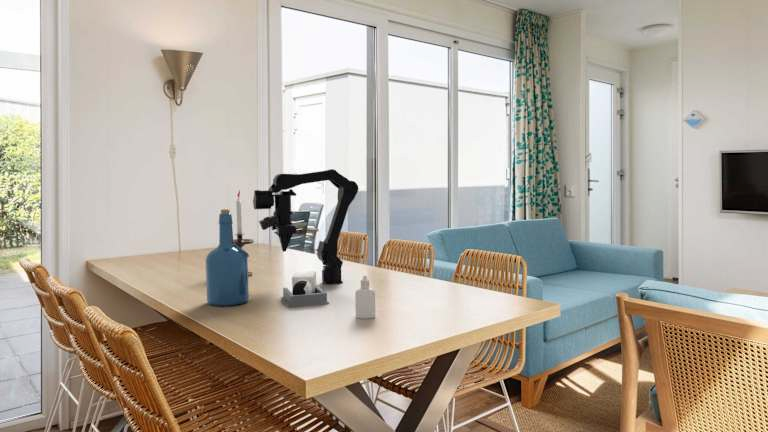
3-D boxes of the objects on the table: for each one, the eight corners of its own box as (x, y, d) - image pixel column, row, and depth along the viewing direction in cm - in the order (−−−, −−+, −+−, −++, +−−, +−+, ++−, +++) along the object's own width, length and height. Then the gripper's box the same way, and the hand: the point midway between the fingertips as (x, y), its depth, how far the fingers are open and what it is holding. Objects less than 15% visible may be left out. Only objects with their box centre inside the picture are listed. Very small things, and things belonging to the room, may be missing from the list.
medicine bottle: (295, 291, 189) (290, 303, 177) (294, 271, 187) (289, 282, 175) (316, 290, 189) (313, 303, 177) (315, 270, 187) (312, 281, 176)
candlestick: (260, 274, 228) (257, 189, 226) (240, 279, 219) (237, 190, 217) (241, 272, 234) (238, 189, 232) (221, 276, 225) (218, 190, 223)
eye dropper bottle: (361, 314, 161) (360, 273, 160) (377, 316, 158) (377, 274, 157) (353, 318, 157) (352, 276, 156) (370, 320, 154) (369, 277, 154)
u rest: (281, 298, 184) (281, 287, 184) (318, 294, 188) (318, 284, 188) (288, 307, 171) (288, 296, 170) (328, 303, 175) (328, 293, 175)
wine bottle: (211, 309, 170) (207, 211, 168) (203, 300, 182) (200, 209, 180) (255, 303, 176) (252, 209, 174) (245, 296, 188) (242, 207, 186)
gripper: (257, 207, 207) (258, 249, 208) (263, 210, 189) (265, 256, 190) (287, 207, 211) (288, 247, 212) (296, 209, 193) (297, 254, 194)
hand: (284, 251), depth 202 cm, fingers closed
